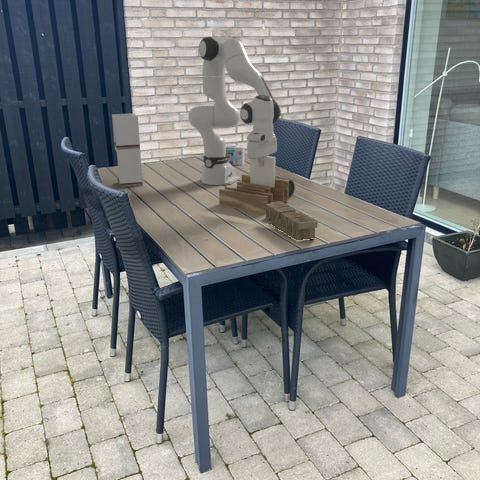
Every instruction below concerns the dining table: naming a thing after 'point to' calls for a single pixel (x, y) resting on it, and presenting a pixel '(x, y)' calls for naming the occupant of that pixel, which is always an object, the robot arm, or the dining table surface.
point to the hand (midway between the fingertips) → (262, 165)
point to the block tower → (291, 221)
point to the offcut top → (254, 188)
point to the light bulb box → (235, 154)
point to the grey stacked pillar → (127, 149)
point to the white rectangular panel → (263, 171)
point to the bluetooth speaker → (291, 185)
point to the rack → (253, 196)
